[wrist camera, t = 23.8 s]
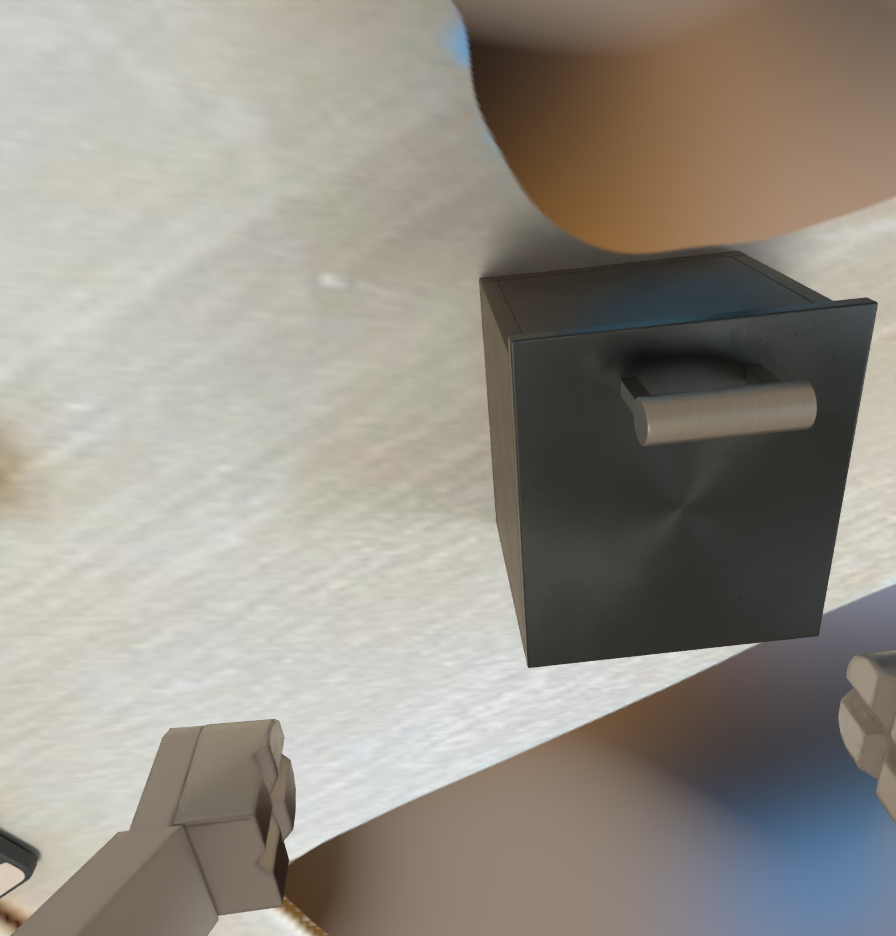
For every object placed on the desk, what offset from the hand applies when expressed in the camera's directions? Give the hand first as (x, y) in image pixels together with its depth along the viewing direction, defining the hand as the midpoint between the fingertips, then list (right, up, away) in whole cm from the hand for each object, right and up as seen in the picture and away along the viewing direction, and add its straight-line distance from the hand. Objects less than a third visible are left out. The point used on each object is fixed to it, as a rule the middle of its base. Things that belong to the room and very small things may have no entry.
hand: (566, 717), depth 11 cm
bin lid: (+9, +2, +23) cm, 24 cm away
